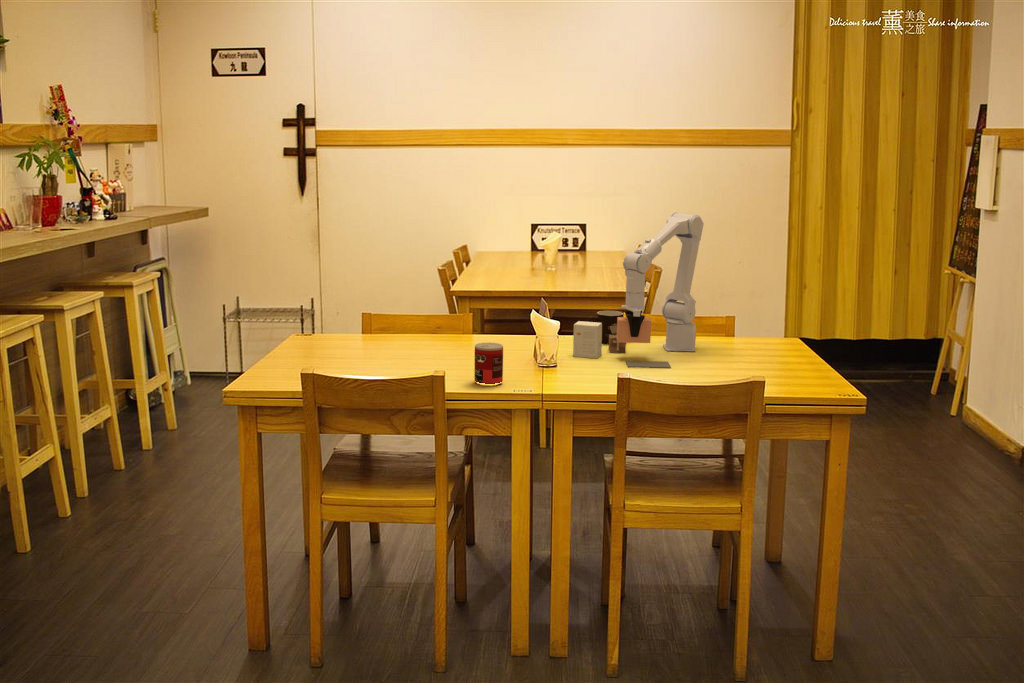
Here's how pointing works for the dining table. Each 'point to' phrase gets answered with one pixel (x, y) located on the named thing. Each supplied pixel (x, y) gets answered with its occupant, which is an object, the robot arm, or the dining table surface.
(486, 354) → the canned food
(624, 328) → the pink rectangular block
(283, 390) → the dining table surface
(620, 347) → the letter cube
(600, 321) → the coffee mug
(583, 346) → the small box
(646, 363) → the mat
